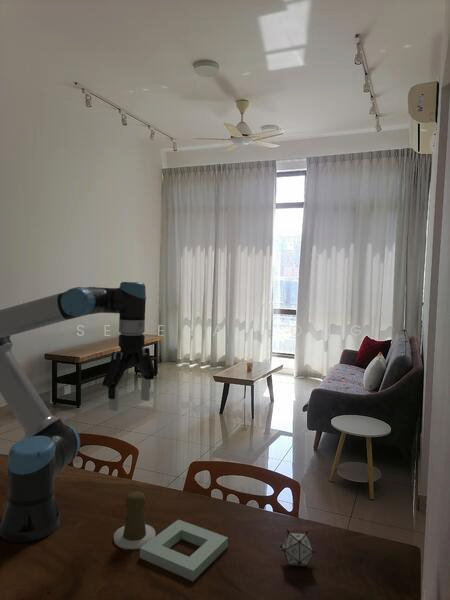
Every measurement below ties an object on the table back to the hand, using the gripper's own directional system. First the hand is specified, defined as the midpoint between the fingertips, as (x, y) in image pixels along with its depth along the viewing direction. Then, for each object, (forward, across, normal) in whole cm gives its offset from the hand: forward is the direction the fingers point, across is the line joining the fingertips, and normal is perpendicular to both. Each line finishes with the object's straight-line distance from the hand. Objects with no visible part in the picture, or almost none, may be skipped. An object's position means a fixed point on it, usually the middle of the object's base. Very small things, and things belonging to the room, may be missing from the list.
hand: (129, 404), depth 131 cm
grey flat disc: (+32, -10, -12) cm, 35 cm away
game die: (+32, +3, -53) cm, 62 cm away
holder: (+32, -8, -27) cm, 42 cm away
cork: (+31, -10, -12) cm, 35 cm away
